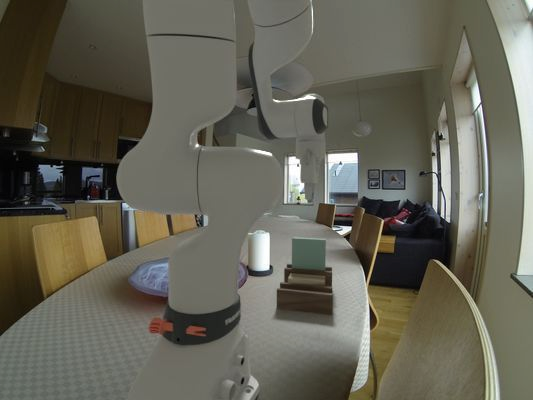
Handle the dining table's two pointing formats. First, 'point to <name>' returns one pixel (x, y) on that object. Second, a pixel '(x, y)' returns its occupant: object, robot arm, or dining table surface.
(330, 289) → the rack
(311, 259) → the panel
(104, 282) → the dining table surface
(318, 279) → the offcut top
